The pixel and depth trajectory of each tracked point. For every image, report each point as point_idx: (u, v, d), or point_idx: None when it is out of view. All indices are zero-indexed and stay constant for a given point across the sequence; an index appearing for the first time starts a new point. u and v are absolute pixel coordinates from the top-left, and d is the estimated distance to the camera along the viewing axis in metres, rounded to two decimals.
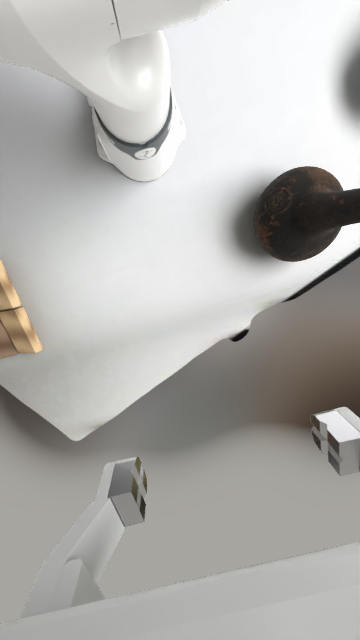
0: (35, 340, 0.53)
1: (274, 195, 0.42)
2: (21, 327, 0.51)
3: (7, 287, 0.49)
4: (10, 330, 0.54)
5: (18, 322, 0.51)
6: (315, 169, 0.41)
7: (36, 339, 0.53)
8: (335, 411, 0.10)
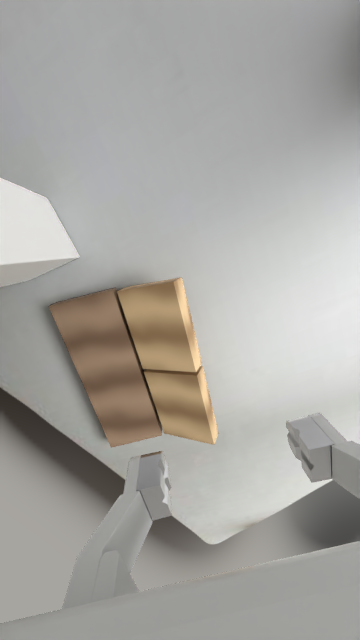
0: (213, 421, 0.30)
1: None
2: (198, 404, 0.28)
3: (190, 335, 0.26)
4: (163, 401, 0.31)
5: (196, 395, 0.28)
6: None
7: (213, 419, 0.30)
8: (309, 417, 0.10)
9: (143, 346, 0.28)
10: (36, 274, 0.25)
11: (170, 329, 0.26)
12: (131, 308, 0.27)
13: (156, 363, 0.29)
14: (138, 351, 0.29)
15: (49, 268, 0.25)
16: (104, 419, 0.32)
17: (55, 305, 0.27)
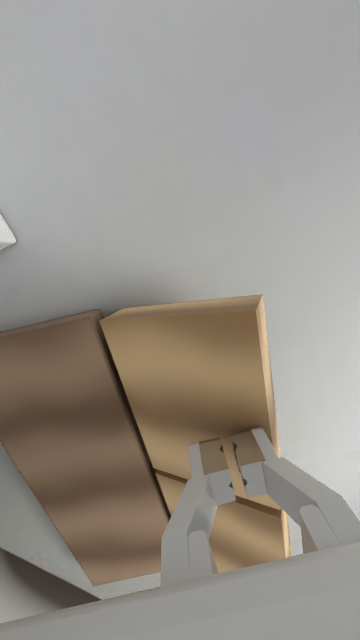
0: None
1: None
2: (273, 559, 0.13)
3: (274, 432, 0.11)
4: None
5: (270, 545, 0.13)
6: None
7: None
8: (250, 431, 0.10)
9: (156, 433, 0.14)
10: None
11: (227, 419, 0.11)
12: (132, 360, 0.12)
13: (183, 467, 0.14)
14: (145, 438, 0.14)
15: None
16: (80, 548, 0.17)
17: None
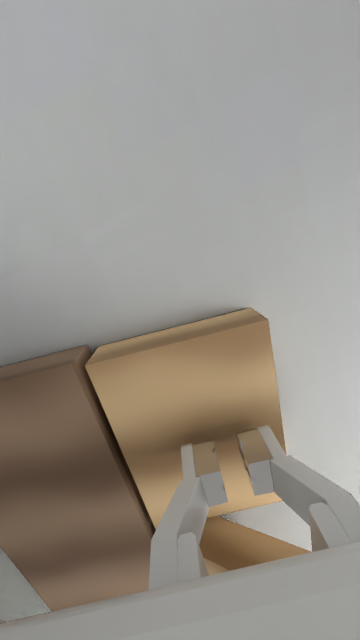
0: None
1: None
2: None
3: None
4: None
5: None
6: None
7: None
8: (256, 430, 0.10)
9: (162, 482, 0.12)
10: None
11: (243, 430, 0.11)
12: (133, 402, 0.10)
13: None
14: (145, 496, 0.12)
15: None
16: None
17: None
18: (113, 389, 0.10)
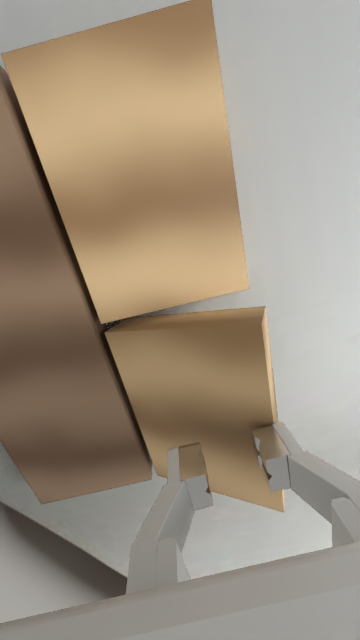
0: None
1: None
2: (254, 412, 0.10)
3: None
4: (154, 406, 0.13)
5: (250, 387, 0.10)
6: None
7: None
8: (271, 426, 0.10)
9: (104, 251, 0.11)
10: None
11: (190, 176, 0.10)
12: (61, 120, 0.09)
13: (143, 294, 0.11)
14: (86, 271, 0.11)
15: None
16: (18, 446, 0.14)
17: None
18: (37, 96, 0.09)
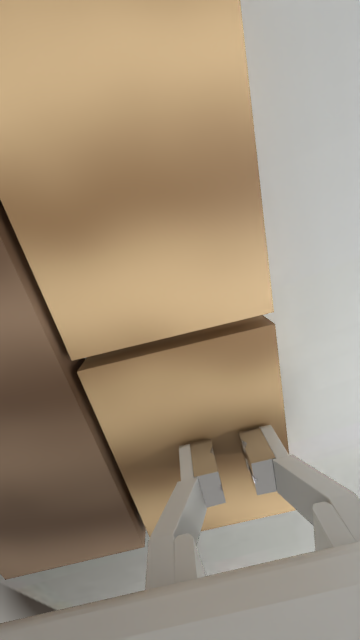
0: None
1: None
2: (268, 415, 0.10)
3: None
4: (151, 450, 0.10)
5: (263, 391, 0.10)
6: None
7: None
8: (259, 429, 0.10)
9: (71, 263, 0.08)
10: None
11: (193, 155, 0.07)
12: None
13: (128, 321, 0.08)
14: (47, 291, 0.08)
15: None
16: None
17: None
18: None
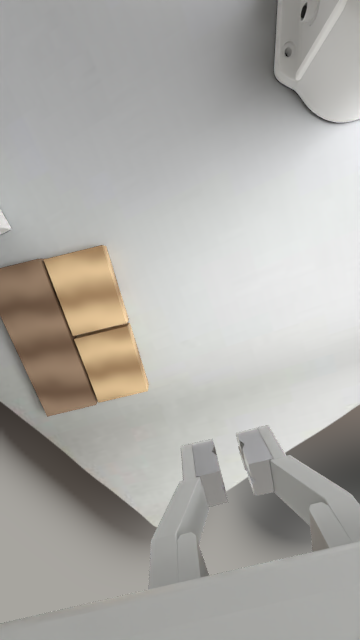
0: (143, 371, 0.36)
1: None
2: (130, 354, 0.33)
3: (118, 293, 0.32)
4: (96, 365, 0.34)
5: (128, 346, 0.33)
6: None
7: (143, 370, 0.36)
8: (256, 430, 0.10)
9: (73, 311, 0.31)
10: None
11: (101, 288, 0.31)
12: (60, 274, 0.30)
13: (87, 325, 0.32)
14: (67, 317, 0.32)
15: None
16: (39, 387, 0.34)
17: None
18: (53, 269, 0.30)
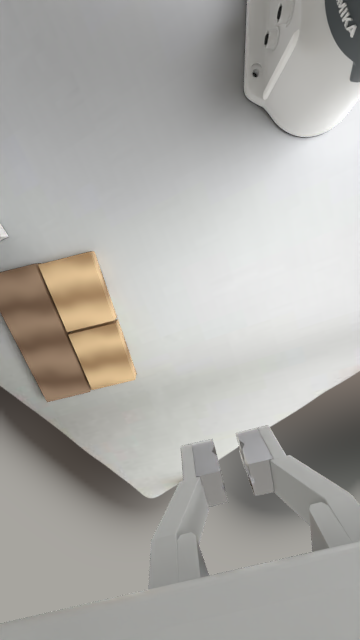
0: (131, 362, 0.40)
1: None
2: (119, 347, 0.38)
3: (106, 293, 0.36)
4: (88, 357, 0.38)
5: (116, 340, 0.37)
6: None
7: (131, 361, 0.40)
8: (256, 430, 0.10)
9: (66, 310, 0.35)
10: None
11: (90, 290, 0.34)
12: (53, 278, 0.34)
13: (80, 322, 0.36)
14: (61, 316, 0.35)
15: None
16: (38, 376, 0.38)
17: None
18: (47, 273, 0.33)
